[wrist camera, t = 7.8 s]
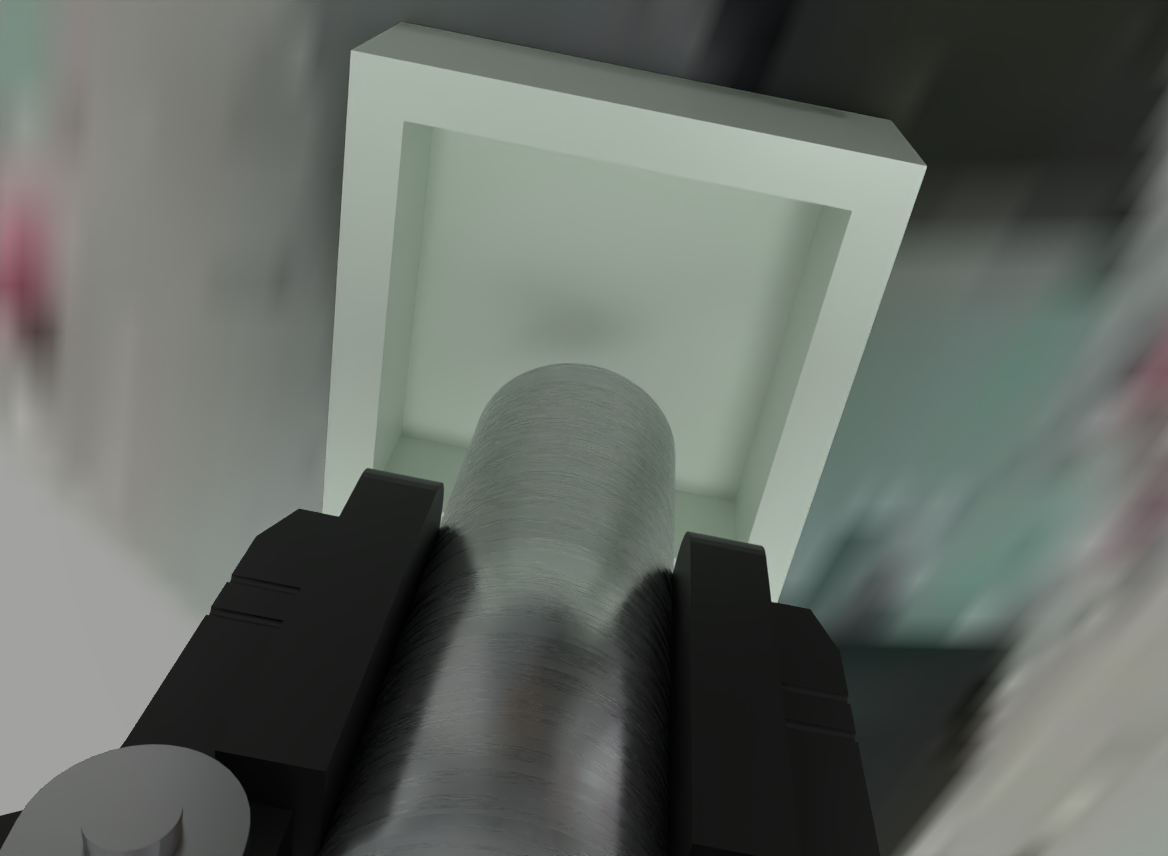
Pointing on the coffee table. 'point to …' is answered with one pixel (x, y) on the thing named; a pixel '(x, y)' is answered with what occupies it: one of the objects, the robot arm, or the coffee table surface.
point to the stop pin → (533, 642)
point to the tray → (606, 265)
